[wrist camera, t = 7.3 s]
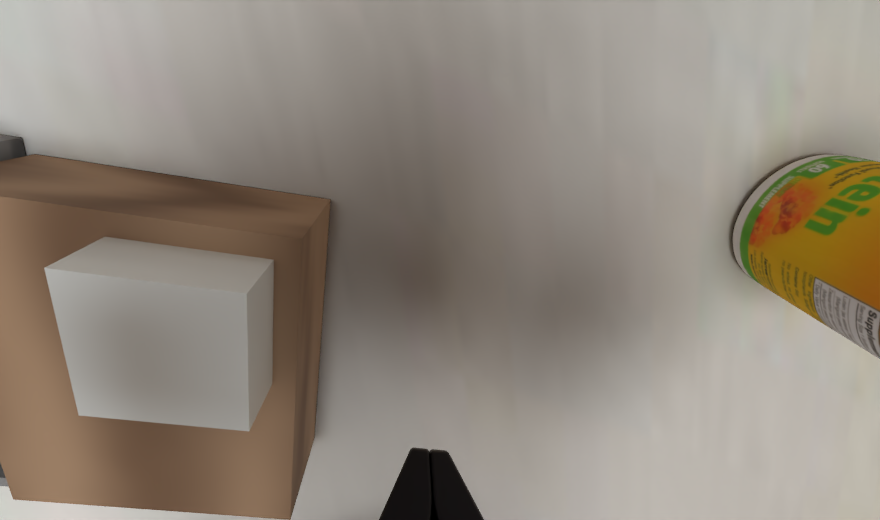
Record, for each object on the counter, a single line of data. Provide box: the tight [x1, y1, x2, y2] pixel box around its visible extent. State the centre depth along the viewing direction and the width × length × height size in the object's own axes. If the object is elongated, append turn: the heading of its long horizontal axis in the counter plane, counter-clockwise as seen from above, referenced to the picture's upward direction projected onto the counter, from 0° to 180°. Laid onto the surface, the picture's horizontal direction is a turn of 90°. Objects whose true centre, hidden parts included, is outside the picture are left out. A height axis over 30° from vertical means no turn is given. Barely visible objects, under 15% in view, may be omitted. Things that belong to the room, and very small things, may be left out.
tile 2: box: [44, 237, 274, 431], centre depth 12 cm, size 4×4×2 cm
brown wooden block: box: [0, 154, 331, 520], centre depth 15 cm, size 10×12×4 cm
